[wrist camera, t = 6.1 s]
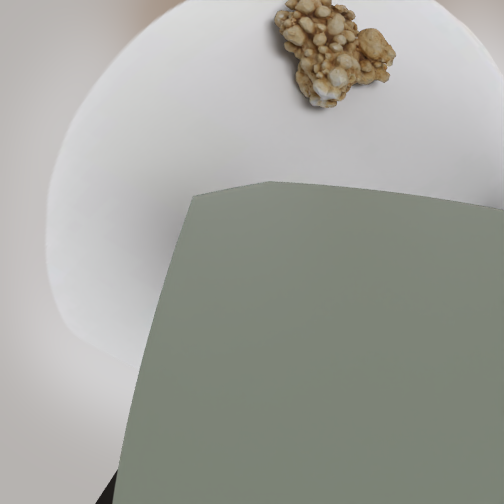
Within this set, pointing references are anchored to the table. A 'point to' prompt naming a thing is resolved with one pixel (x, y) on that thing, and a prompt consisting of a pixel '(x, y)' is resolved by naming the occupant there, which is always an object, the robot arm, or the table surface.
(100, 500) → the robot arm
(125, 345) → the table surface
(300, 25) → the mineral formation
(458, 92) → the table surface
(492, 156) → the table surface
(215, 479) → the sage book
